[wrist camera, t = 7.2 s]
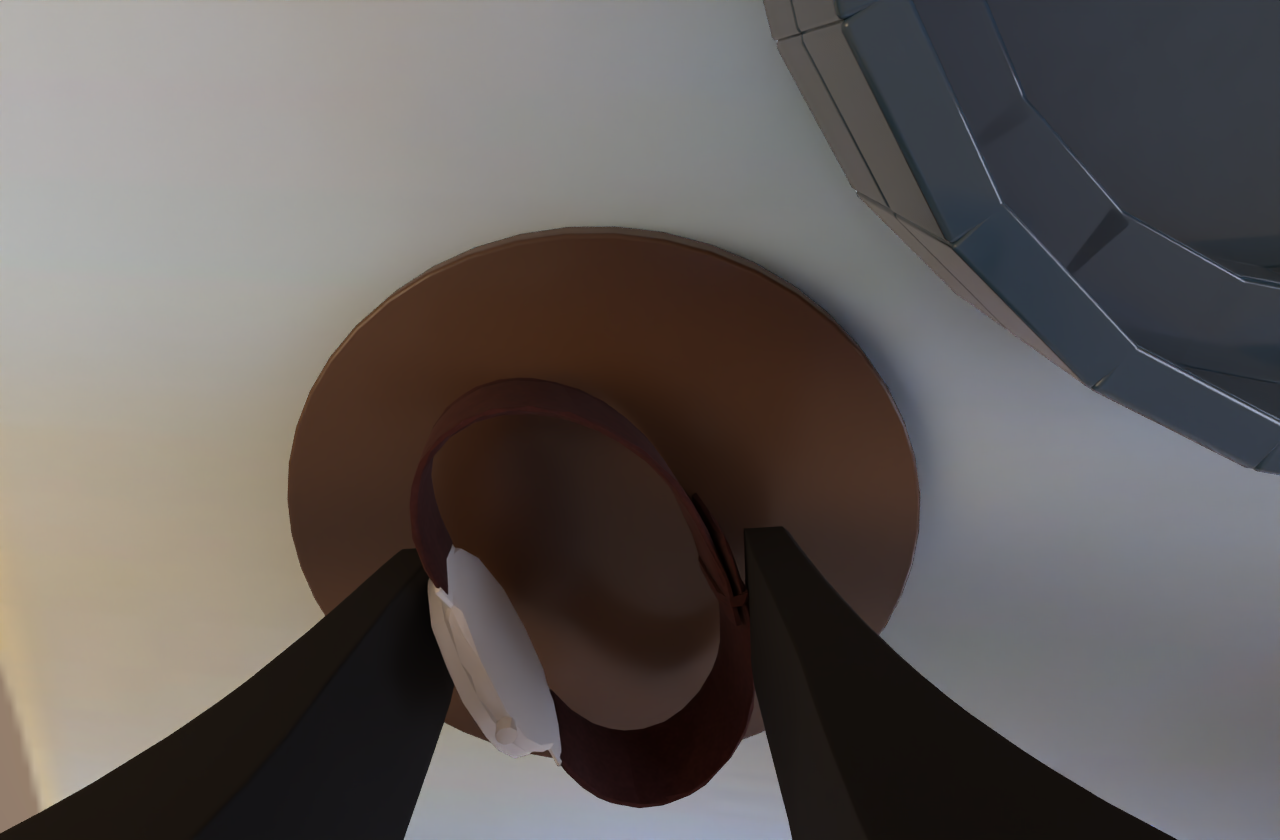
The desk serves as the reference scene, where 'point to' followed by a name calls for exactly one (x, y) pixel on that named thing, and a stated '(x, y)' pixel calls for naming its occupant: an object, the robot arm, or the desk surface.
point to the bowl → (1078, 182)
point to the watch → (507, 662)
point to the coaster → (608, 452)
